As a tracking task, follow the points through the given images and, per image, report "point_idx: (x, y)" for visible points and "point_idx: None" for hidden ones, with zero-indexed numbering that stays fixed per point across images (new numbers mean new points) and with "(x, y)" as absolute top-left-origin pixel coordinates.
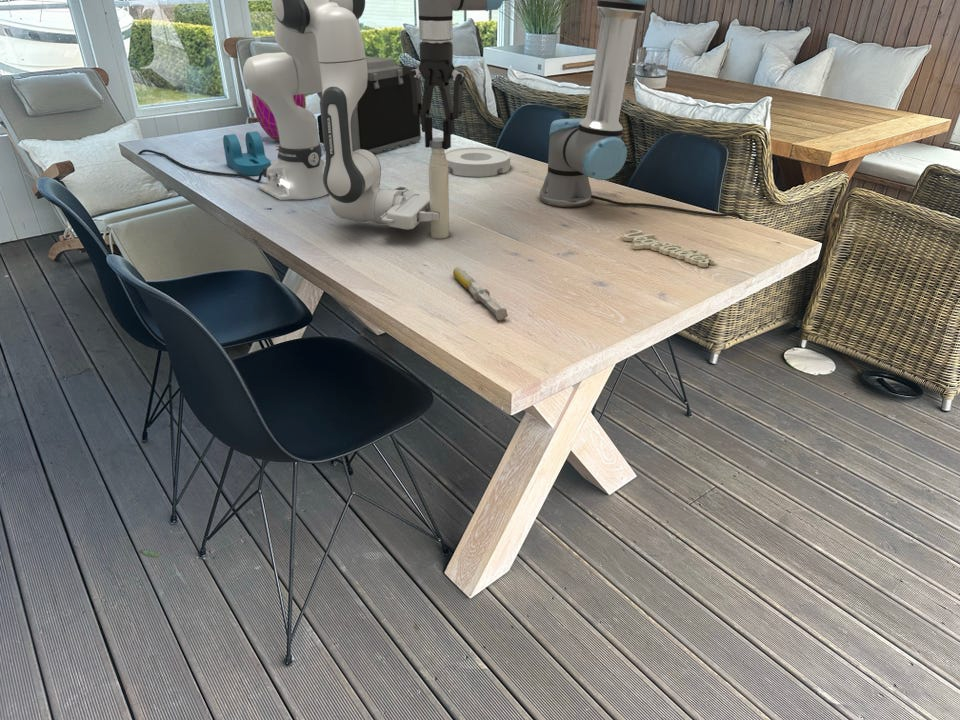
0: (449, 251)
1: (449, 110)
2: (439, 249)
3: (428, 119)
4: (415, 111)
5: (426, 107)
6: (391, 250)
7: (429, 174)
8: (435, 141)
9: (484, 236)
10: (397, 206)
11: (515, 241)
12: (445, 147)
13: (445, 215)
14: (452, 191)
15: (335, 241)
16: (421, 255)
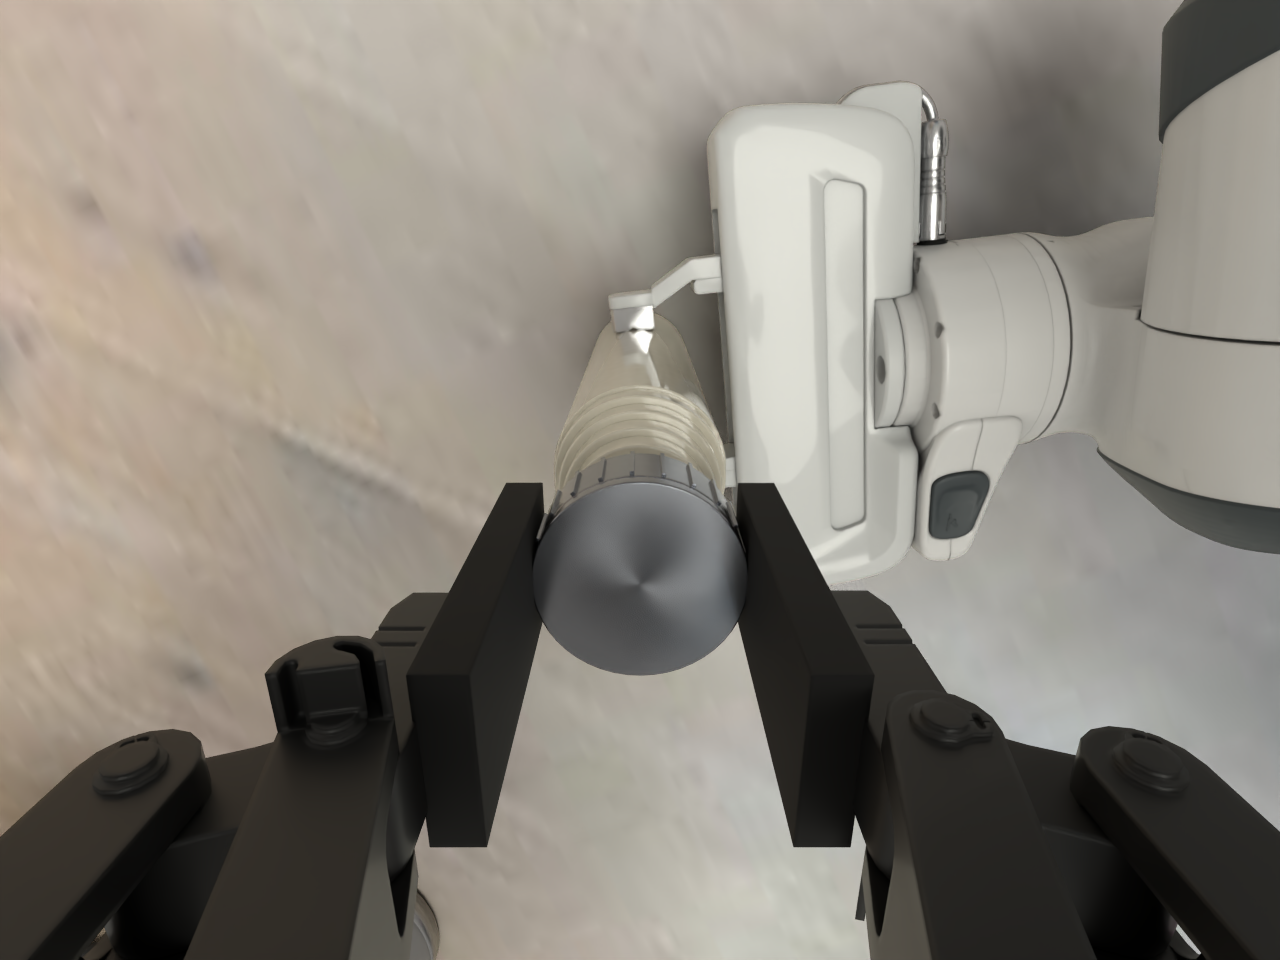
0: (498, 160)
1: (227, 877)
2: (557, 166)
3: (806, 716)
4: (1165, 781)
5: (917, 901)
6: (787, 41)
7: (698, 397)
8: (623, 481)
9: (437, 426)
10: (878, 265)
11: (278, 420)
12: (514, 492)
13: (590, 357)
14: (810, 875)
15: (1138, 41)
16: (605, 38)
